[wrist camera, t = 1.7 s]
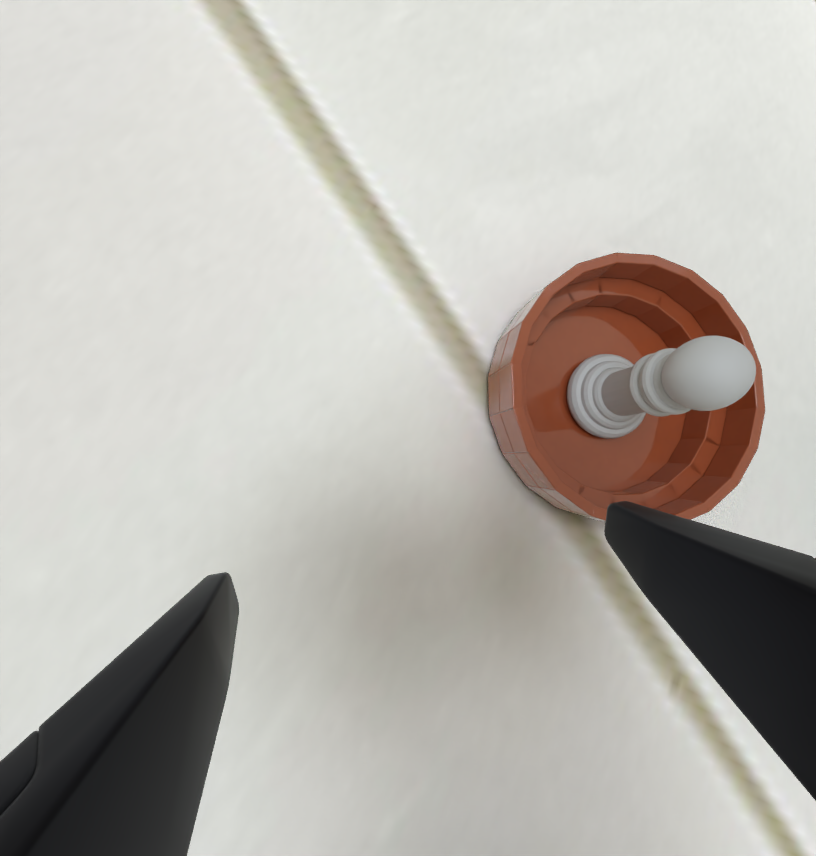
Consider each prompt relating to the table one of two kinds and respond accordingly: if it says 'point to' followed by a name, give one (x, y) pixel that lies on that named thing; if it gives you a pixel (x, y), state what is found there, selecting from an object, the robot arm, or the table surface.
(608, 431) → the chess piece
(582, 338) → the bowl
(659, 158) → the table surface
